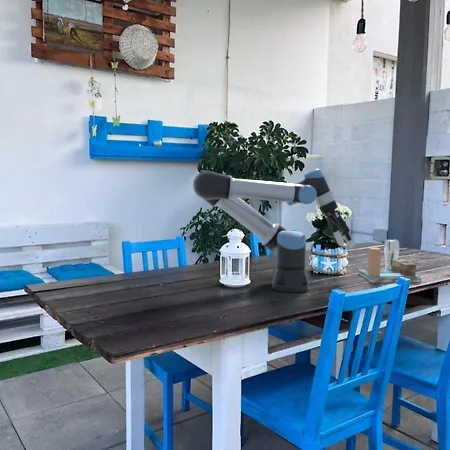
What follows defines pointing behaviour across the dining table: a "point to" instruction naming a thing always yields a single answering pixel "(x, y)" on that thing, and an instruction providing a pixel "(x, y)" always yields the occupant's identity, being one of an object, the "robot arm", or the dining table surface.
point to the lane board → (385, 280)
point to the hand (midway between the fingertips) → (347, 245)
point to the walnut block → (408, 269)
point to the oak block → (397, 264)
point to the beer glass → (391, 252)
